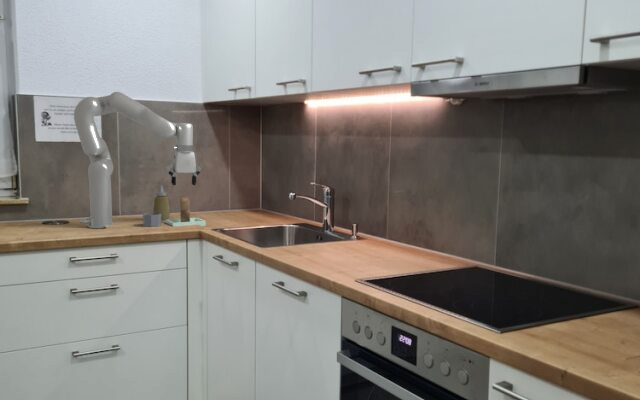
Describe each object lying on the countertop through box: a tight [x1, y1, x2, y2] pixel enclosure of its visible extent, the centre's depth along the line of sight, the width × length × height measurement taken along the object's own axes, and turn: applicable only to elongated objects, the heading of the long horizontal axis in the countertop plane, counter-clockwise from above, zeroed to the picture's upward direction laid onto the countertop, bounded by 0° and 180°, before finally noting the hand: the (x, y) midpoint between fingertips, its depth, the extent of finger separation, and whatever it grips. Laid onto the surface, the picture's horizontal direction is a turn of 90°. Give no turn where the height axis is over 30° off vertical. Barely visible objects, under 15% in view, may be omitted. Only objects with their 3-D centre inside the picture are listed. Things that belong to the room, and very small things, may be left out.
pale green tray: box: [164, 217, 207, 227], centre depth 280 cm, size 16×12×2 cm
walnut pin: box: [179, 195, 191, 222], centre depth 279 cm, size 4×4×13 cm
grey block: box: [142, 212, 162, 228], centre depth 271 cm, size 8×8×6 cm
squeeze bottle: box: [152, 185, 171, 221], centre depth 291 cm, size 8×8×18 cm
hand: (183, 184), depth 278 cm, fingers open, 9 cm apart
